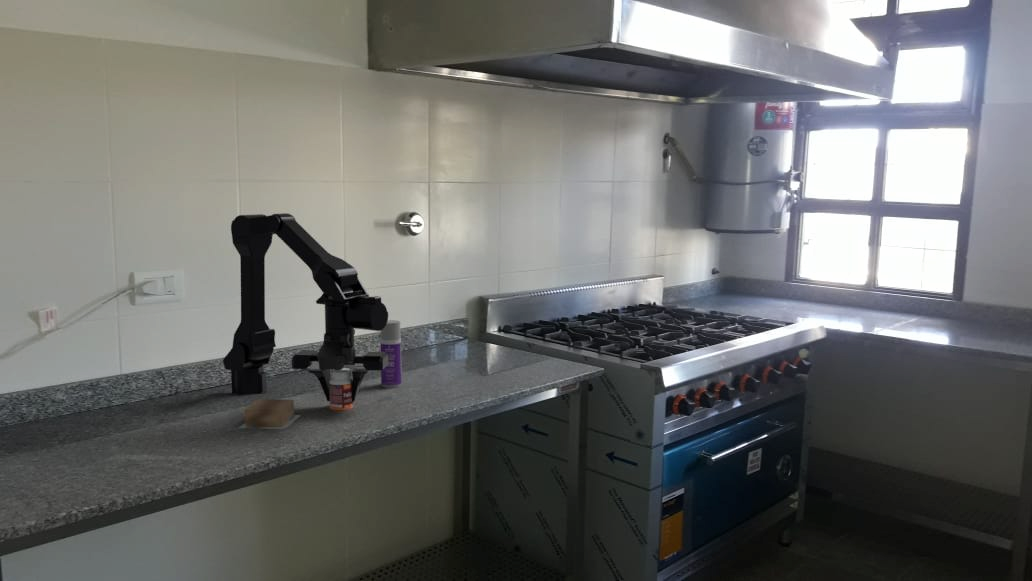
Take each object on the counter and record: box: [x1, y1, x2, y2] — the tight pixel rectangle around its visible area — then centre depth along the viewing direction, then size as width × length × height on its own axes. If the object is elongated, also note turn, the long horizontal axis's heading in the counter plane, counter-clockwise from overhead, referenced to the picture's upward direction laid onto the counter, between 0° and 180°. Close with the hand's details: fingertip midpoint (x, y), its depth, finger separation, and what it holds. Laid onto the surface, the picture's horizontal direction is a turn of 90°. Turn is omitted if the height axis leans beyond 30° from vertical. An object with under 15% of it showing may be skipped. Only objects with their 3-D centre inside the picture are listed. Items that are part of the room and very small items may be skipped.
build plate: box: [238, 414, 301, 430], centre depth 154 cm, size 17×12×1 cm
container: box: [380, 319, 402, 389], centre depth 183 cm, size 5×5×15 cm
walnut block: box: [244, 398, 295, 427], centre depth 153 cm, size 7×7×3 cm
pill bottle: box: [329, 367, 354, 411], centre depth 163 cm, size 5×5×8 cm
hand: (341, 401), depth 164 cm, fingers closed on pill bottle, 5 cm apart
